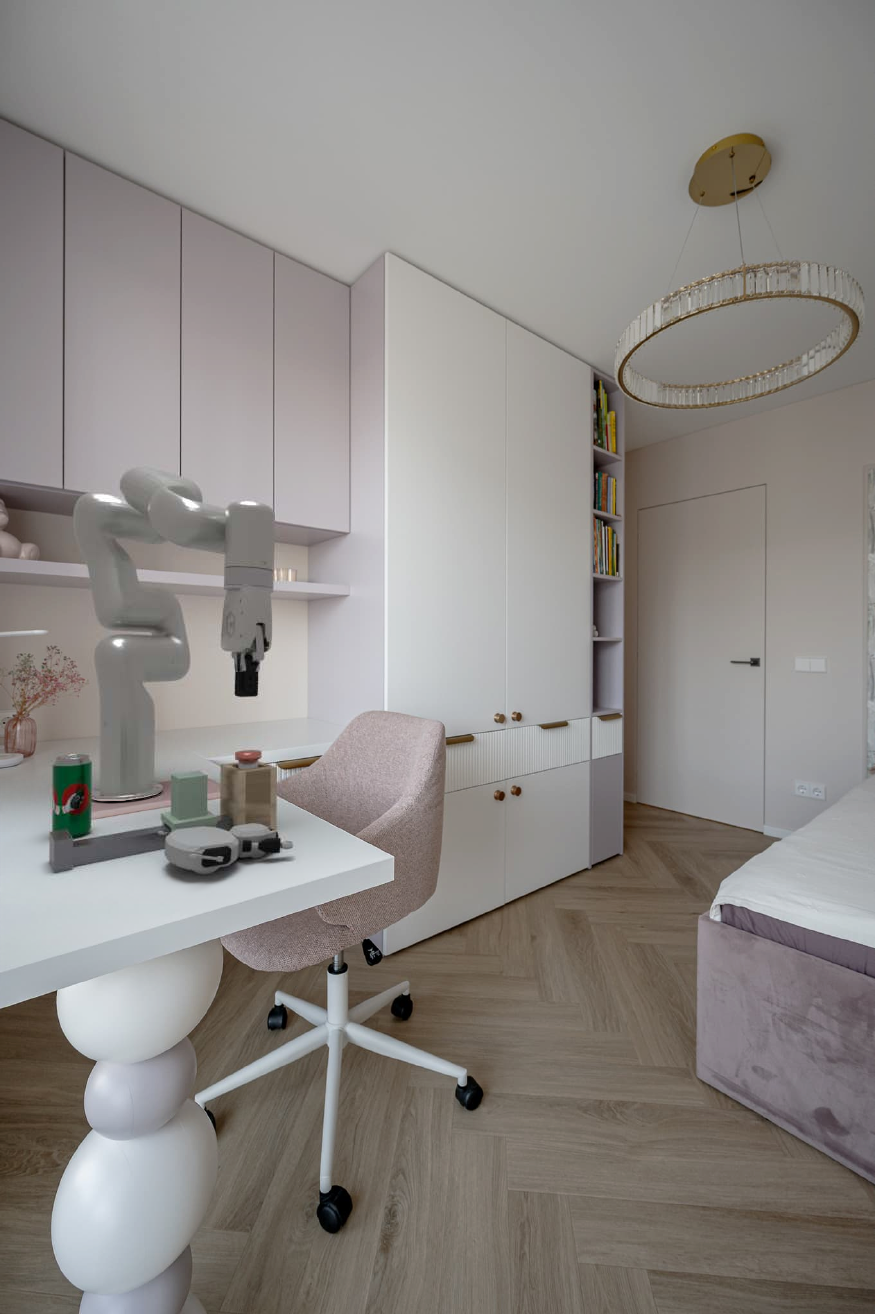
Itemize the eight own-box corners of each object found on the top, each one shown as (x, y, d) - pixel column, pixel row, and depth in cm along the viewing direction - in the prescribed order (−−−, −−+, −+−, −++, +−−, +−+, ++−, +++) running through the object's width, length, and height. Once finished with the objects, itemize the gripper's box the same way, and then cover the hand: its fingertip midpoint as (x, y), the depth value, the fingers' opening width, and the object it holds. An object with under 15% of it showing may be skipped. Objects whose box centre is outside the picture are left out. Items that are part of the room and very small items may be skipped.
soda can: (98, 830, 89) (99, 754, 89) (75, 840, 84) (75, 759, 84) (69, 828, 89) (69, 753, 89) (43, 839, 84) (44, 759, 84)
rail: (49, 861, 75) (49, 831, 75) (229, 827, 90) (229, 802, 90) (54, 872, 71) (54, 841, 71) (241, 834, 87) (241, 809, 87)
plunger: (231, 789, 90) (231, 751, 90) (255, 785, 93) (255, 749, 93) (240, 793, 87) (240, 755, 87) (265, 790, 90) (265, 752, 90)
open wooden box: (220, 826, 91) (220, 764, 91) (256, 819, 95) (256, 760, 95) (238, 838, 85) (239, 772, 85) (276, 830, 89) (276, 767, 89)
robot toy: (257, 844, 85) (150, 861, 75) (259, 814, 86) (153, 826, 75) (297, 867, 76) (183, 889, 66) (300, 833, 77) (186, 850, 66)
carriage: (160, 836, 85) (161, 773, 85) (201, 828, 89) (202, 768, 89) (174, 848, 79) (174, 781, 79) (217, 839, 83) (217, 775, 83)
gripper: (209, 582, 93) (206, 693, 93) (243, 575, 82) (240, 701, 82) (253, 586, 98) (250, 691, 98) (291, 580, 87) (288, 699, 87)
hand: (246, 696), depth 90 cm, fingers closed
